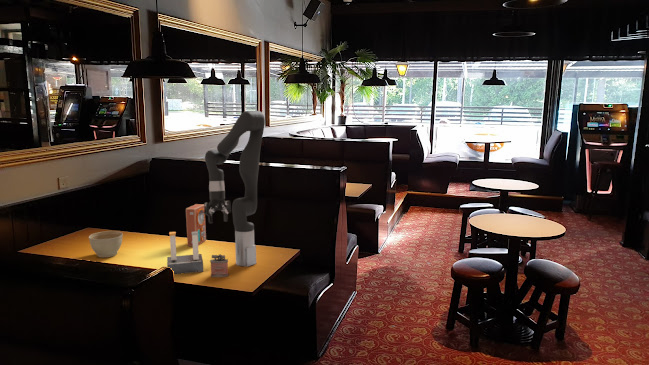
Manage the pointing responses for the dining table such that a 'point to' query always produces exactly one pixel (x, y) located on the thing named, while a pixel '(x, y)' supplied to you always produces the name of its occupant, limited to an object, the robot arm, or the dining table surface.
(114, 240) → the planter bowl
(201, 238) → the control panel
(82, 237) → the dining table surface
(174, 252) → the handle
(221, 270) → the lighter
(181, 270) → the grey rectangular base
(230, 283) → the dining table surface
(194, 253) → the handle
